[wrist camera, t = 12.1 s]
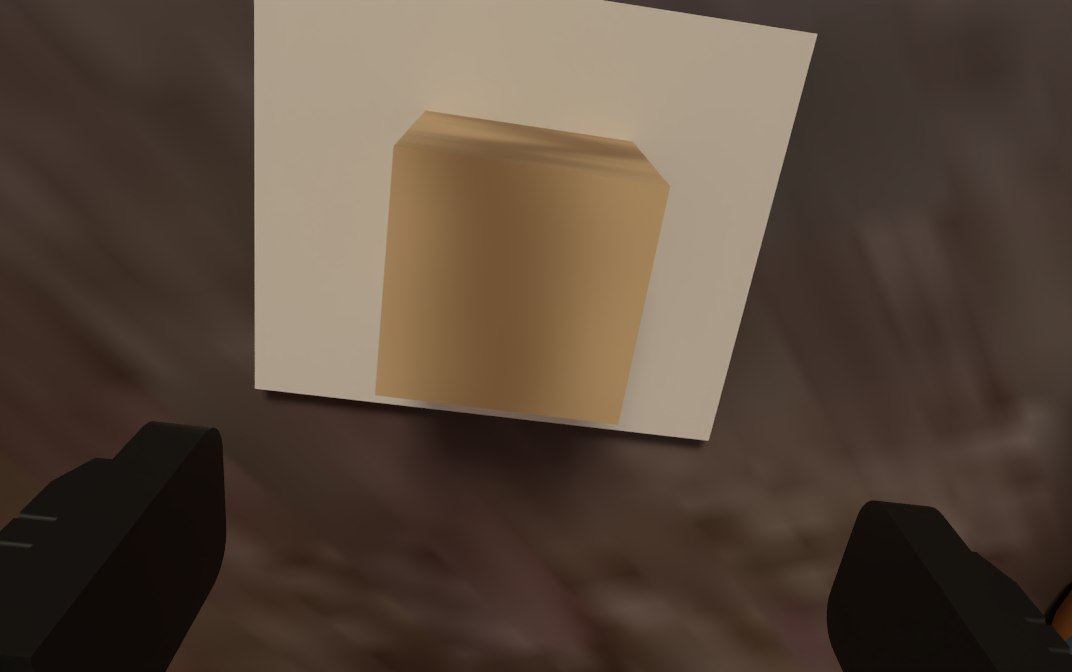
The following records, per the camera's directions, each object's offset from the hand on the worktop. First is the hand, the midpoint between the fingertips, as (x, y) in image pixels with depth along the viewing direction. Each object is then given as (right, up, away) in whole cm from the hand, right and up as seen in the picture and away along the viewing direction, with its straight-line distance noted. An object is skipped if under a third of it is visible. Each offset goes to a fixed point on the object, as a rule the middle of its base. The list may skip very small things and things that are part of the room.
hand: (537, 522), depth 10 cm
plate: (-1, +6, +12) cm, 14 cm away
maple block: (-1, +5, +12) cm, 13 cm away
